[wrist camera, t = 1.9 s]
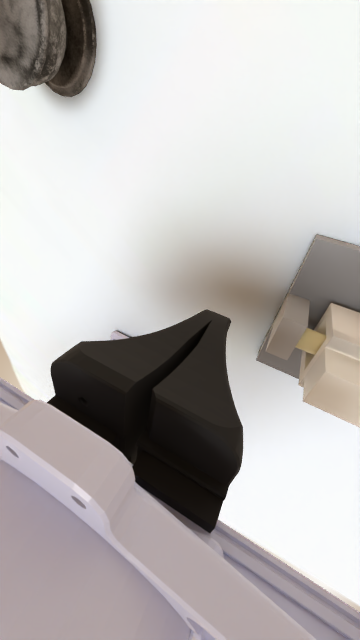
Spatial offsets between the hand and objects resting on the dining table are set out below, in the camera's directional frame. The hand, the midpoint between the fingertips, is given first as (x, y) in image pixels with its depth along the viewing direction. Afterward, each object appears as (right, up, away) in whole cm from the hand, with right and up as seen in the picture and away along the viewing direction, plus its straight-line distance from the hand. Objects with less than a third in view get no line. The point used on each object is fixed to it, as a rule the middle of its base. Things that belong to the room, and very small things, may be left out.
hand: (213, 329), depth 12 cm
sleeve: (+8, -1, +1) cm, 8 cm away
